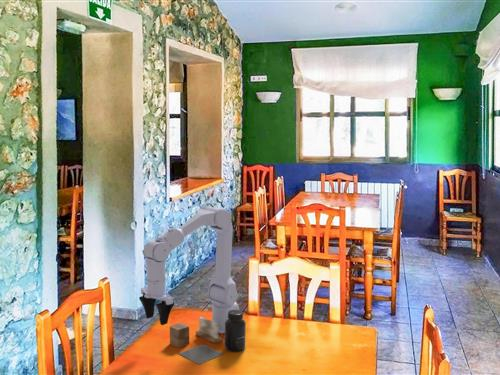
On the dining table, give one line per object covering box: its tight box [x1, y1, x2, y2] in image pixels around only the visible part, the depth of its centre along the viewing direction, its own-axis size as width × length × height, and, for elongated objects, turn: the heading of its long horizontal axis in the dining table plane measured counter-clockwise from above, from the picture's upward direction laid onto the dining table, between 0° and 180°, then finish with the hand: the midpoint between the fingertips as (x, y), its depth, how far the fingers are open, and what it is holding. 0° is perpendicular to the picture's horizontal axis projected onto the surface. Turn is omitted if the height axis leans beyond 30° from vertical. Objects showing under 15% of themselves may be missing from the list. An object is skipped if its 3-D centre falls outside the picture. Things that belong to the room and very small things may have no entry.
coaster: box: [178, 343, 224, 365], centre depth 161 cm, size 10×10×1 cm
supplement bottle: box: [223, 309, 247, 353], centre depth 165 cm, size 7×7×12 cm
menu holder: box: [195, 316, 223, 344], centre depth 173 cm, size 10×3×6 cm, turn 45°
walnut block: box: [169, 322, 190, 349], centre depth 169 cm, size 4×4×6 cm
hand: (156, 320), depth 162 cm, fingers open, 7 cm apart
